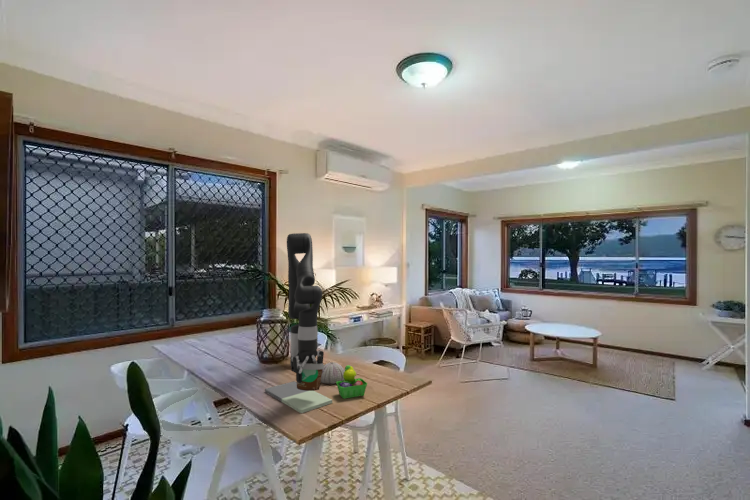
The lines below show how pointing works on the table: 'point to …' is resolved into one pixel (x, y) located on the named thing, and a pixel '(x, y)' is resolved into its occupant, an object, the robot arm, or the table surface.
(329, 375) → the sea urchin shell
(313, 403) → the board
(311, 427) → the table surface
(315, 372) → the food container
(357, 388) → the fruit basket
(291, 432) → the table surface
